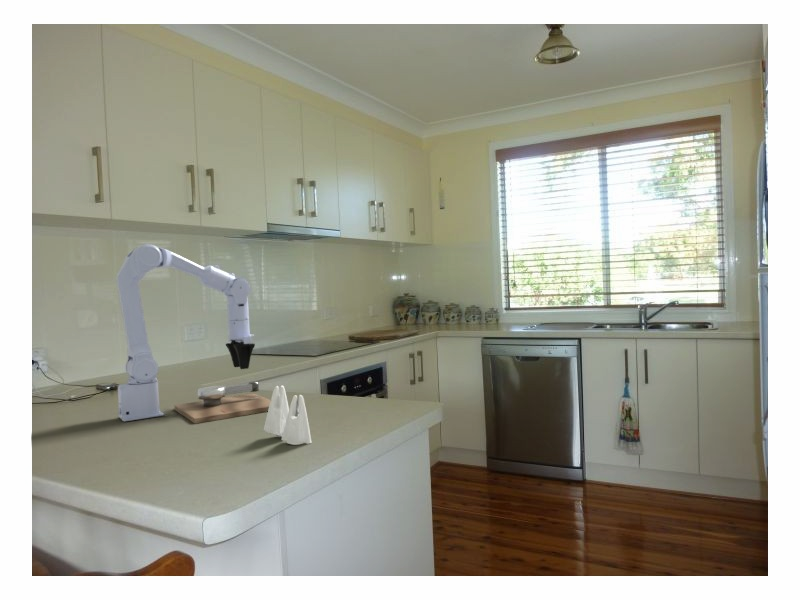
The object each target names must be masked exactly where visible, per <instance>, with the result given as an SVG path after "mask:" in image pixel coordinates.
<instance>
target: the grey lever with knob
mask: <svg viewBox="0 0 800 600" xmlns="http://www.w3.org/2000/svg"><path fill="white" fill-rule="evenodd" d="M259 391H260V385H259V381H249V382H247V383H240V384H239V383H238V384H232V385H209V386H204V387H200V388H197V398H198V400H201V401H204V400H210V399H218V398H226V397H227V395H234V394H241V393H247V392H250V393H255V392H259Z"/></svg>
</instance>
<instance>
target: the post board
mask: <svg viewBox="0 0 800 600" xmlns="http://www.w3.org/2000/svg"><path fill="white" fill-rule="evenodd" d="M270 402H271V399H269V398H266V397H264V396H261V395H259V394H256V393H255V392H252V393H247V394H241V395H233V396H228V397H227V396H225V397H222V398H218V399H210V400H201V401H193V402H186V403H179V404H178V403H177V404H174V405H173V407H174V408H173V409H174V411H176V412H178V413H179V414H180V415H182V416H184V417H185V418H186V419H187V420H189V421H191V423H193V424H196V425H197V424H202V423H207V422H208V423H209V422H213V421H220V420H226V419H232V418H236V417H237V418H238V417H242V416H243V415H244V416H248V415H249V414H250V415H255V413H256V414H261V412H262V413H266V411H268V409H269V405H270ZM244 416H243V417H244Z"/></svg>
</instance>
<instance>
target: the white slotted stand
mask: <svg viewBox="0 0 800 600" xmlns="http://www.w3.org/2000/svg"><path fill="white" fill-rule="evenodd" d="M286 393H287V392H286V389H285V386H284V385H280V387H279V386H278V385H276V386H274V389H273V391H272V394H271V399H270V400H271V402H270V405H269V409H268V412H267V413H266V418H265V422H264V426H263V431H265V432H266V433H269V434H271V435H275V436H277V437H280V438H281V439H280V440H281V441H285V442H287V444H289V445H293V446H294V445H295V446H300V445H303V444H307V445H309V444H312V436H311V430H310V424H309V420H308V413H307V408H306V404H305V398H304V395H302V394H299V396H297V395H295V394H294V395H293V397H292V400H291V402H290V406H289V402H288V398H287V394H286Z"/></svg>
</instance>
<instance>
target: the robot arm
mask: <svg viewBox="0 0 800 600" xmlns="http://www.w3.org/2000/svg"><path fill="white" fill-rule="evenodd" d="M156 268H157V269H158V268H172V269H175V270H178V271H180V272H183V273H185V274H188V275H191V276H193V277H196V278H198V280H199V282H200V284H201V285H203V286H205V287H208V288H209V289H212V290H215V291H217V292H219V293H222V294H224V295H225V296H226V297H227V299H226V300H227V320H228V321H227V322H228V342H227V343H225V346H226V348H227V350H228V352H229V354H230V357H231V361H232V365H233V367H234V368H239V369H240V370H245V369H246V370H247V369H250V368H249V367H250V361H251V358H252V357H251V356H252V354H253V353H252V352H253V350H254V349H255V346H256V344H255V343H252V342H253V341H252V338H254V337H255V334H251V331H250V330H251V329H250V313H249V311H250V310H249V309H250V307H249V299H248V298H249V295H250V293H251V290H252V288H251V286H250V284H249V282H248V280H246V279H245V278H243V277H236V274H235V273H233V272H231V273H229V272H227V271H225V270H222V269H220V266H219V265H217V264H216V265H215V264H214V265H210V264H209V265H207V266H205V267H204V266H203V265H199V264H197V263H196V262H194V261H191V260H190V259H188V258H185V257H183V256H181V255H179V254H178V253H175V252H173V251H171V250H168V249H166V248H163V247H158V246H156V245H154V244H150V243H146V244H142V245H140V246H139V247H135V248H134V249H132V250H131V252H129V254H127V255H126V256H125V259H124V261H123V263H122V265H121V267H120V269H119V271H118V272H117V275H116V278H115V281H116V286H117V292H118V297H119V304H120V310H121V315H122V322H123V327H124V332H125V333H124V334H125V338H126V345H127V350H126V355H127V360H126V364H125V371H126V373H127V375H128V376H129V378H128V379H127V380H126V383H125V384H124V383H123V384H119V385H117V398H118V401H117V402H118V408H117V409H118V417H119V418H120V420H121V421H122V422H129V421H135V420H136V421H137V420H142V419H149V418H155V417H162V416H164V415H165V413H164V412H162V411H161V410H160V396H159V380H158V378H157V375H158V372H159V364H158V363H157V361H156V360H155V358H154V356H153V352H152V350H151V347H150V344H149V340H148V333H147V328H146V323H145V315H144V312H143V311H144V309H143V304H142V299H141V293H140V292H141V291H140V288H139V283H140V282H141V280H142V279H143V278H144V277H145V276H146V275H147V273H149V272H151V271H153V270H154V269H156ZM229 342H230V343H229Z"/></svg>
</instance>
